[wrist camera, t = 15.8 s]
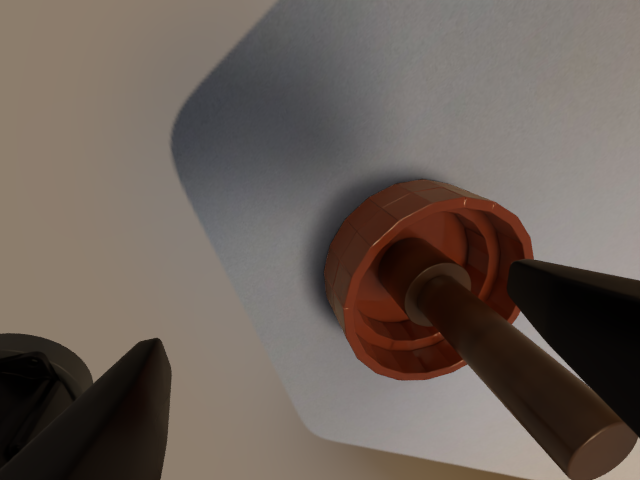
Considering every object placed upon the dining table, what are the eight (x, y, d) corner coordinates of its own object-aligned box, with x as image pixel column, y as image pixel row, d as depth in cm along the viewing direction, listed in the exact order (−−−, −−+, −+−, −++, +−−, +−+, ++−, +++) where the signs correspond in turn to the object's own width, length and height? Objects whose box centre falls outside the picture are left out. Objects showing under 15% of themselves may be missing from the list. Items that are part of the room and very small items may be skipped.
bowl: (330, 348, 26) (351, 401, 21) (312, 194, 21) (335, 221, 16) (472, 312, 28) (519, 353, 23) (487, 165, 23) (549, 181, 18)
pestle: (372, 294, 24) (528, 508, 11) (384, 236, 22) (579, 411, 10) (427, 292, 25) (623, 487, 13) (442, 238, 24) (682, 396, 11)
